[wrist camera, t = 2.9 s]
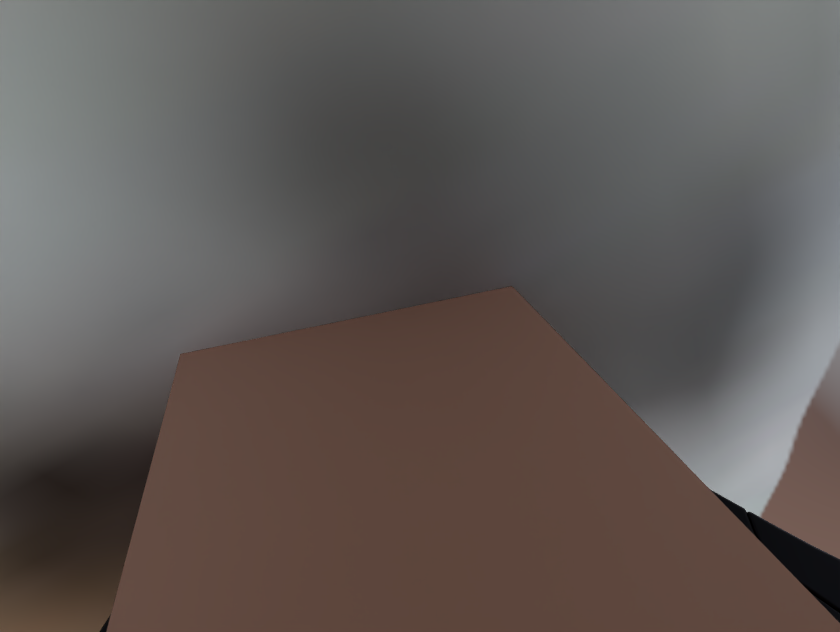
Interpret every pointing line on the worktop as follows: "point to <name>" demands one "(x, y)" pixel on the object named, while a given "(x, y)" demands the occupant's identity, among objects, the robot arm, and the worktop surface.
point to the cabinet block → (432, 493)
